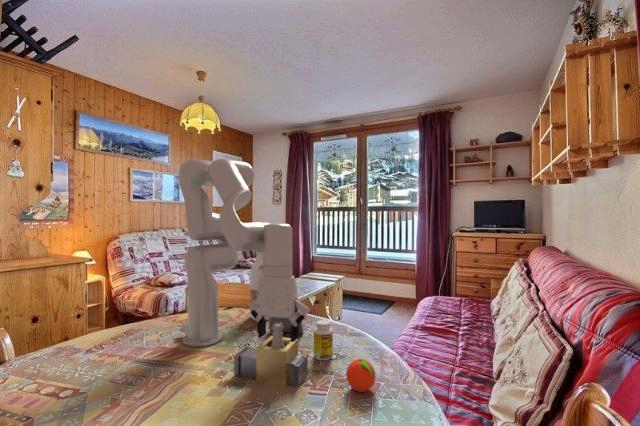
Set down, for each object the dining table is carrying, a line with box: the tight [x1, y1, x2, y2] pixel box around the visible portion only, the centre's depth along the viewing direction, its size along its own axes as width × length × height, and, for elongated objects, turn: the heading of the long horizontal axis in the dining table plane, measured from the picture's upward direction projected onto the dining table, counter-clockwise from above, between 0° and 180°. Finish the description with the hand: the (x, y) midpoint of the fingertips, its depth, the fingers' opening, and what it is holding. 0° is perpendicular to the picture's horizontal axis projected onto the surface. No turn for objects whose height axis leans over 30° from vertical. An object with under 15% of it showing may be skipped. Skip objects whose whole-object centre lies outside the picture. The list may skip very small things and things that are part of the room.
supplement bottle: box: [313, 319, 334, 361], centre depth 92 cm, size 6×6×10 cm
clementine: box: [346, 358, 376, 393], centre depth 74 cm, size 8×7×7 cm
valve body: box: [233, 335, 309, 388], centre depth 81 cm, size 18×8×8 cm, turn 72°
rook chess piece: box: [271, 322, 285, 349], centre depth 81 cm, size 4×4×8 cm
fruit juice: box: [249, 249, 270, 321], centre depth 127 cm, size 9×9×28 cm
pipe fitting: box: [268, 308, 304, 334], centre depth 110 cm, size 12×8×10 cm
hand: (277, 337), depth 81 cm, fingers open, 8 cm apart
